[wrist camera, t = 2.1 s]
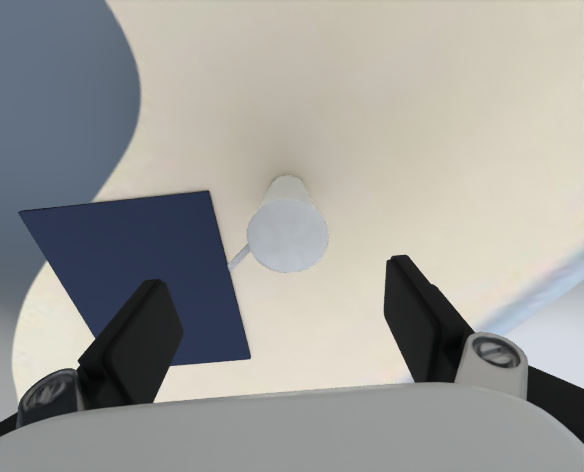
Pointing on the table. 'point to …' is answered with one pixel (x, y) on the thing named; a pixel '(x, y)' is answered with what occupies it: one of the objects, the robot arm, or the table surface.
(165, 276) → the mouse pad
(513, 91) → the table surface
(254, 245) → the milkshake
